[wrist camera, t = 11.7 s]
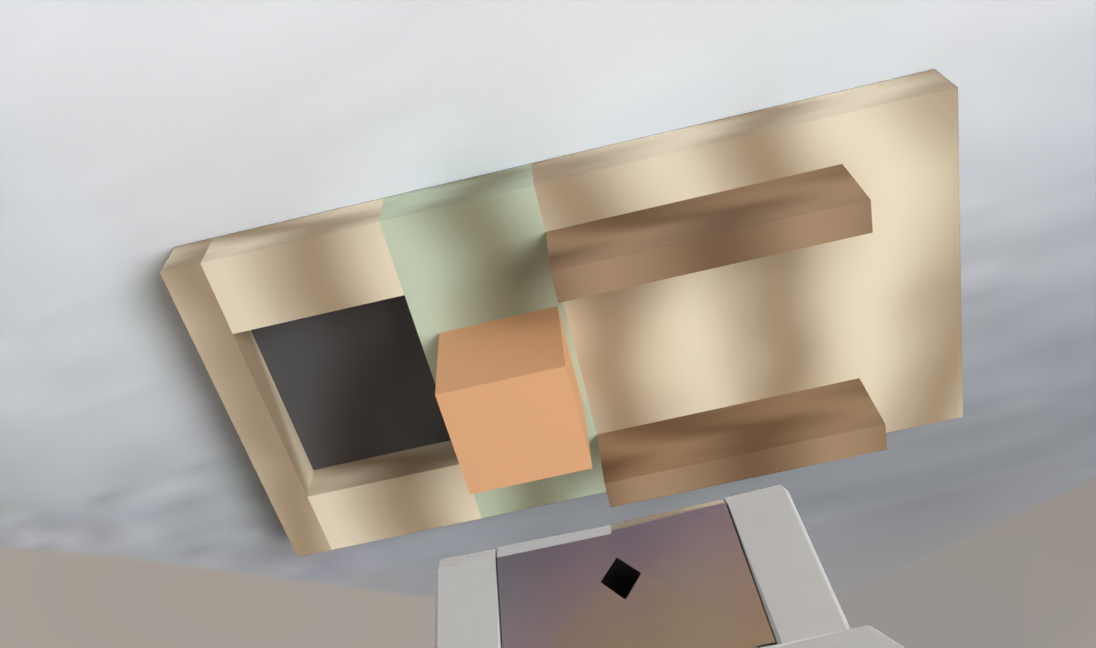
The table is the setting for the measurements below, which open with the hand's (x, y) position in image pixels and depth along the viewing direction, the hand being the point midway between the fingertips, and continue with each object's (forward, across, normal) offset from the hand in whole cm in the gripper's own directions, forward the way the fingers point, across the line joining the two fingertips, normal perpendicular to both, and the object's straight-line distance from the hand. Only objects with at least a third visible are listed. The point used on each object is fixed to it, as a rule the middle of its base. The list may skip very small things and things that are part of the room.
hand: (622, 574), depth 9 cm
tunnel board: (+28, 0, +14) cm, 31 cm away
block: (+26, +3, +15) cm, 30 cm away
